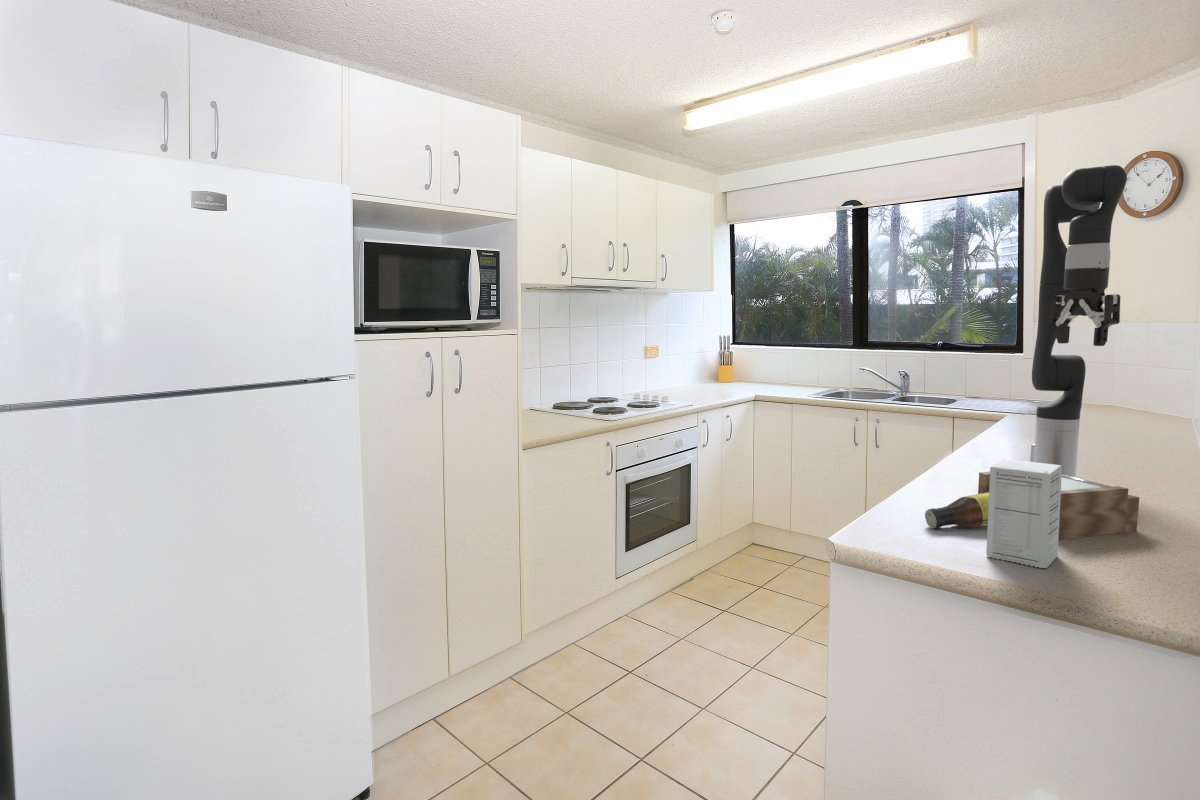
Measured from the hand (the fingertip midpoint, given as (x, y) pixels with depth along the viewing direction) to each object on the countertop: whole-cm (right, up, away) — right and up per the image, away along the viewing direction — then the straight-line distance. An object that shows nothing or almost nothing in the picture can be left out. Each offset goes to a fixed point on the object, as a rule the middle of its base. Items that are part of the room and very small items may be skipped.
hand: (1080, 344), depth 139 cm
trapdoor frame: (-6, -37, 0) cm, 38 cm away
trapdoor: (-6, -33, -1) cm, 34 cm away
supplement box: (-26, -40, -21) cm, 52 cm away
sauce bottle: (-14, -33, -2) cm, 36 cm away
